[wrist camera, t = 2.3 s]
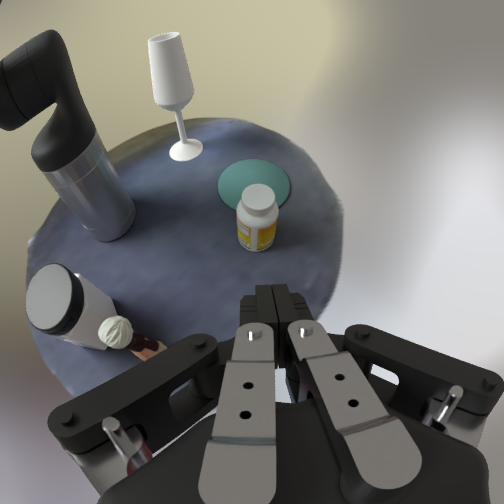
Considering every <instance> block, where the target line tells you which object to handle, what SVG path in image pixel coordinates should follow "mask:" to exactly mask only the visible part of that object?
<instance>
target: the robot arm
mask: <svg viewBox="0 0 504 504" xmlns="http://www.w3.org/2000/svg"><path fill="white" fill-rule="evenodd" d="M1 1H2V0H0V4H1ZM53 103H57V107H56V109H55V111H54V113H53V115H52V116H51V118H50V119H49V121H48V122H47V123H46V125H45V126H44V127H43V129H42V130H41V131H40V133H39V134H38V135H37V137H36V139H35V141H34V143H33V146H32V150H31V155H32V158H33V160H34V162H35V163H36V165H37V166H38V168H39V169H40V170H41V172H42V173H43V175H44V176H45V177H46V179H47V180H48V182H49V183H50V184H51V185H52V187H53V188H54V189H55V191H56V192H57V193H58V195H59V196H60V197H61V199H62V200H63V201H64V202H65V204H66V205H67V206H68V207H69V209H70V210H71V211H72V212H73V214H74V215H75V216H76V217H77V218H78V220H79V221H80V222H81V223H82V225H83V226H84V227H85V228H86V229H87V230H88V232H89V233H90V234H91V235H92V236H93V237H94V238H95V239H96V240H98V241H102V242H109V241H113V240H115V239H117V238H119V237H121V236H122V235H123V234H124V233H126V232H127V231H128V229H129V228H130V227H131V225H132V223H133V222H134V219H135V215H136V209H135V205H134V203H133V201H132V199H131V198H130V196H129V194H128V192H127V190H126V188H125V186H124V184H123V182H122V180H121V179H120V177H119V175H118V173H117V171H116V169H115V167H114V165H113V163H112V161H111V159H110V157H109V155H108V153H107V151H106V149H105V147H104V145H103V143H102V141H101V138H100V136H99V134H98V132H97V130H96V128H95V125H94V123H93V121H92V119H91V117H90V115H89V113H88V110H87V108H86V106H85V104H84V101H83V99H82V96H81V94H80V91H79V88H78V85H77V82H76V79H75V75H74V72H73V68H72V65H71V61H70V58H69V55H68V51H67V48H66V46H65V43H64V41H63V39H62V37H61V36H60V34H59V33H58V32H57V31H55V30H47V31H45V32H43V33H41V34H39V35H37V36H36V37H34V38H32V39H31V40H29V41H28V42H26V43H24V44H23V45H22V46H20V47H19V48H17V49H16V50H14V51H13V52H11V53H10V54H9V55H7V56H6V57H5V58H3V59H2V60H1V61H0V128H2V129H4V130H6V131H12V130H15V129H17V128H19V127H21V126H22V125H24V124H25V123H26V122H28V121H29V120H30V119H32V118H33V117H35V116H36V115H37V114H39V113H40V112H41V111H43V110H44V109H46V108H47V107H49V106H50V105H52V104H53ZM255 289H256V295H245V296H244V297H243V298H242V299H241V301H240V327H239V328H238V330H237V332H236V336H235V337H234V338H232V339H230V340H227V341H224V342H219V343H217V340H216V339H215V338H214V337H212V336H210V335H207V334H194V335H190V336H188V337H186V338H184V339H182V340H181V341H179V342H177V343H175V344H174V345H172V346H170V347H169V348H167V349H165V350H163V351H162V352H160V353H158V354H156V355H154V356H153V357H151V358H149V359H147V360H146V361H144V362H142V363H140V364H138V365H137V366H135V367H133V368H131V369H129V370H127V371H126V372H124V373H122V374H120V375H118V376H116V377H115V378H113V379H111V380H109V381H107V382H105V383H103V384H101V385H99V386H98V387H96V388H94V389H92V390H90V391H88V392H86V393H84V394H82V395H80V396H78V397H76V398H74V399H73V400H70V401H68V402H66V403H64V404H62V405H60V406H58V407H57V408H55V409H54V410H53V411H52V412H51V413H50V415H49V417H48V427H49V430H50V431H51V432H52V433H53V435H54V436H55V437H56V439H57V440H58V441H59V442H60V443H61V445H62V447H63V449H64V450H65V451H66V452H67V453H68V454H69V455H70V457H71V458H72V459H73V460H74V461H75V462H76V463H77V464H78V465H79V466H80V468H81V469H82V471H83V472H84V474H85V475H86V476H87V478H88V479H89V481H90V482H91V484H92V485H93V486H94V487H95V489H96V490H97V492H98V493H99V494H100V495H101V497H100V499H99V500H98V503H97V504H491V503H490V498H489V487H488V479H489V478H488V477H489V470H488V465H487V462H486V459H485V458H484V456H483V454H482V453H481V452H480V451H479V450H478V449H477V446H478V443H479V440H480V437H481V435H482V432H483V428H484V425H485V422H486V418H487V417H488V415H489V414H490V412H491V411H492V409H493V408H494V406H495V405H496V403H497V402H498V400H499V398H500V396H501V395H502V393H503V392H504V381H503V379H502V378H501V377H500V376H499V375H498V374H497V373H495V372H493V371H490V370H487V369H484V368H481V367H478V366H475V365H473V364H470V363H467V362H464V361H461V360H458V359H456V358H453V357H450V356H447V355H445V354H442V353H439V352H437V351H434V350H431V349H429V348H426V347H423V346H421V345H418V344H415V343H413V342H410V341H407V340H405V339H402V338H400V337H397V336H394V335H392V334H389V333H387V332H384V331H382V330H379V329H376V328H374V327H371V326H368V325H362V324H357V325H352V326H350V327H348V328H347V329H346V330H345V335H336V334H330V333H326V331H325V329H324V328H323V326H322V325H321V324H320V323H318V322H316V321H314V319H313V317H312V315H311V312H310V310H309V308H308V305H307V304H306V301H305V298H304V297H303V296H301V295H300V294H299V293H290V292H289V290H288V287H287V284H272V285H255ZM373 364H375V365H377V366H379V367H382V368H384V369H386V370H389V371H391V372H393V373H395V374H396V375H397V376H398V378H399V384H398V385H395V384H393V383H391V382H389V381H386V380H384V379H382V378H380V377H378V376H376V375H373V374H371V369H372V366H373ZM278 365H279V368H285V369H286V385H287V388H288V391H289V395H290V398H291V402H292V403H282V402H275V369H277V366H278ZM187 381H188V383H189V384H188V385H187V386H185V387H184V388H183V389H181V390H180V391H178V392H177V393H175V394H174V395H172V396H171V397H169V396H170V394H171V393H172V392H173V391H174V390H175V389H177V388H178V387H180V386H181V385H183V384H184V383H186V382H187ZM217 405H218V407H217V412H216V413H215V414H212V415H210V416H208V417H206V418H204V419H203V420H201V421H199V420H200V419H201V418H203V417H204V416H205V415H206V414H208V413H209V412H210V411H211V410H213V409H214V408H215V407H216V406H217ZM197 421H199V422H198V423H197V424H196V425H194V426H193V427H192V428H191V429H189V430H188V431H187V432H186V433H184V434H183V435H182V436H181V437H179V438H178V439H177V440H176V441H175V442H173V443H172V444H171V445H169V446H168V447H167V448H165V449H164V450H163V451H161V452H160V453H159V454H157V455H156V456H155V457H153V456H152V454H153V453H155V452H156V451H158V450H159V449H161V448H162V447H164V446H165V445H166V444H168V443H169V442H171V441H172V440H173V439H175V438H176V437H178V436H179V435H180V434H181V433H183V432H184V431H186V430H187V429H188V428H190V427H191V426H192V425H193V424H195V423H196V422H197Z"/></svg>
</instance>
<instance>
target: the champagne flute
mask: <svg viewBox="0 0 504 504" xmlns="http://www.w3.org/2000/svg"><path fill="white" fill-rule="evenodd" d="M148 50H149V59H150V69H151V77H152V85H153V93H154V100H155V101H156V103H157V104H158V105H159V106H160V107H162V108H164V109H167V110H170V111H174V112H175V117H176V121H177V126H178V130H179V134H180V139H181V141H179V142H177V143H176V144H174V145H173V146H172V148H171V149H170V156H171V158H172V159H174V160H177V161H188V160H191V159H193V158H195V157H197V156H198V155H199V154H200V153H201V152H202V150H203V145H202V143H201V142H200V141H198V140H195V139H187V137H186V132H185V128H184V123H183V118H182V113H181V109H183V108H184V107H185V106H186V105H187V104H188V103H189V102H190V100H191V99H192V96H193V94H194V87H193V83H192V80H191V76H190V72H189V68H188V64H187V61H186V57H185V53H184V49H183V45H182V42H181V37H180V34H179V33H178V32H169V33H163V34H160V35H157V36H154V37H152V38H150V39H149V40H148Z"/></svg>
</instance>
